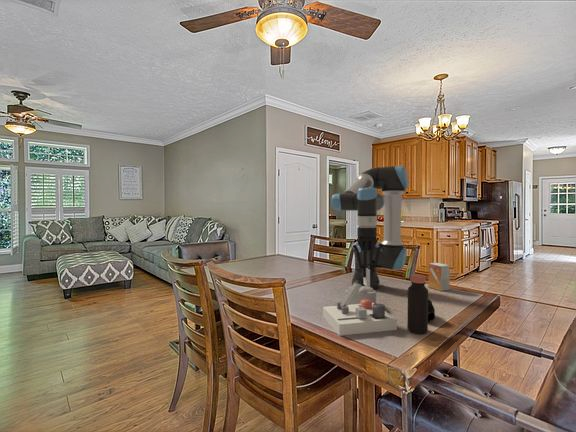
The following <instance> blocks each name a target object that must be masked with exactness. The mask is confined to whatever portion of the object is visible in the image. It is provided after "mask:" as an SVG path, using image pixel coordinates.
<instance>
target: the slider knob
mask: <svg viewBox="0 0 576 432" xmlns="http://www.w3.org/2000/svg"><path fill="white" fill-rule="evenodd" d="M356 317H358V318H359V319H363V318H367V310H366V309H365V308H364V307H359V308H356Z"/></svg>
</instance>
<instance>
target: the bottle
mask: <svg viewBox="0 0 576 432" xmlns="http://www.w3.org/2000/svg"><path fill="white" fill-rule="evenodd" d="M426 278H427V277H426V275H423V274H420V273H419V274H418V273H414V274H410V283H411V284H410V286H409V287H408V288H407V322H406V323H407V325H406V326H407V331H409V332H410V333H413V334H418V335H424V334H427V333H428V331H429V329H428V326H429V324H428V323H429V321H428V299H429V289H428V288H427V287H426V286H425V285H426V283H427V281H426Z"/></svg>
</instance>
